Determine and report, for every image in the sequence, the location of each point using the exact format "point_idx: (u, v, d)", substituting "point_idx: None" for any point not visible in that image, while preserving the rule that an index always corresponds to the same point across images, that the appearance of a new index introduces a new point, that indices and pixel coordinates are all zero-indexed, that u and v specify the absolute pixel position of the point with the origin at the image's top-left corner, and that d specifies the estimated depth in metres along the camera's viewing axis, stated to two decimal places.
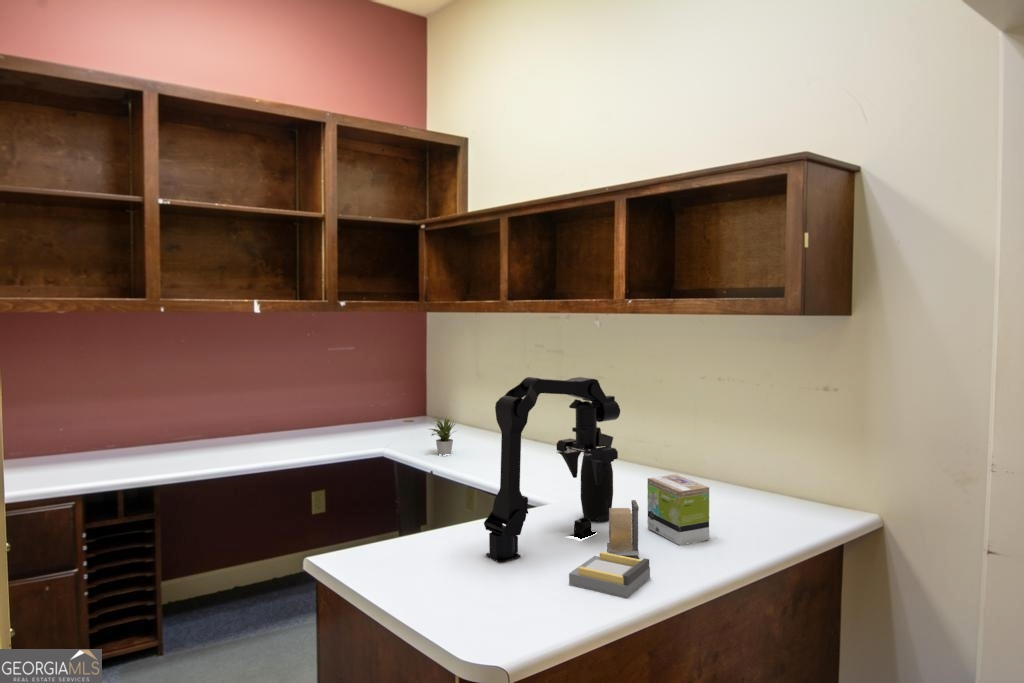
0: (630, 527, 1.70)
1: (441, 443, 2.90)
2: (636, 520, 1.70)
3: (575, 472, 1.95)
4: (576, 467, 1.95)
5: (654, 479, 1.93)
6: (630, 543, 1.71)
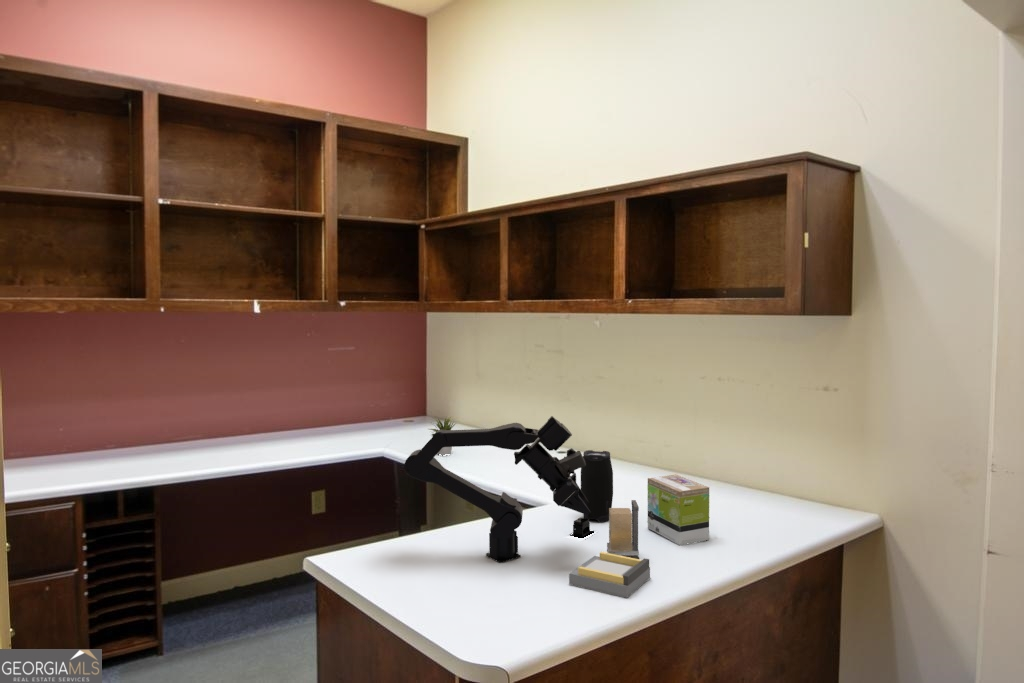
0: (630, 527, 1.70)
1: None
2: (636, 520, 1.70)
3: (582, 499, 1.78)
4: (580, 493, 1.78)
5: (654, 479, 1.93)
6: (630, 543, 1.71)
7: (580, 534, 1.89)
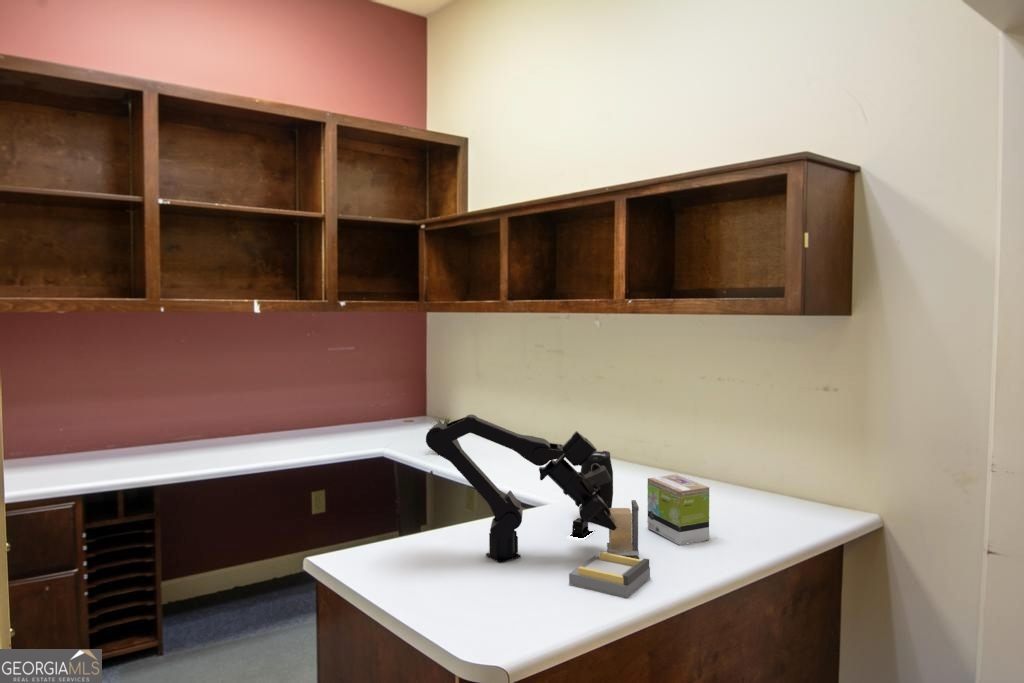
0: (630, 527, 1.70)
1: None
2: (636, 520, 1.70)
3: (607, 513, 1.77)
4: (605, 508, 1.78)
5: (654, 479, 1.93)
6: (630, 543, 1.71)
7: (580, 534, 1.89)
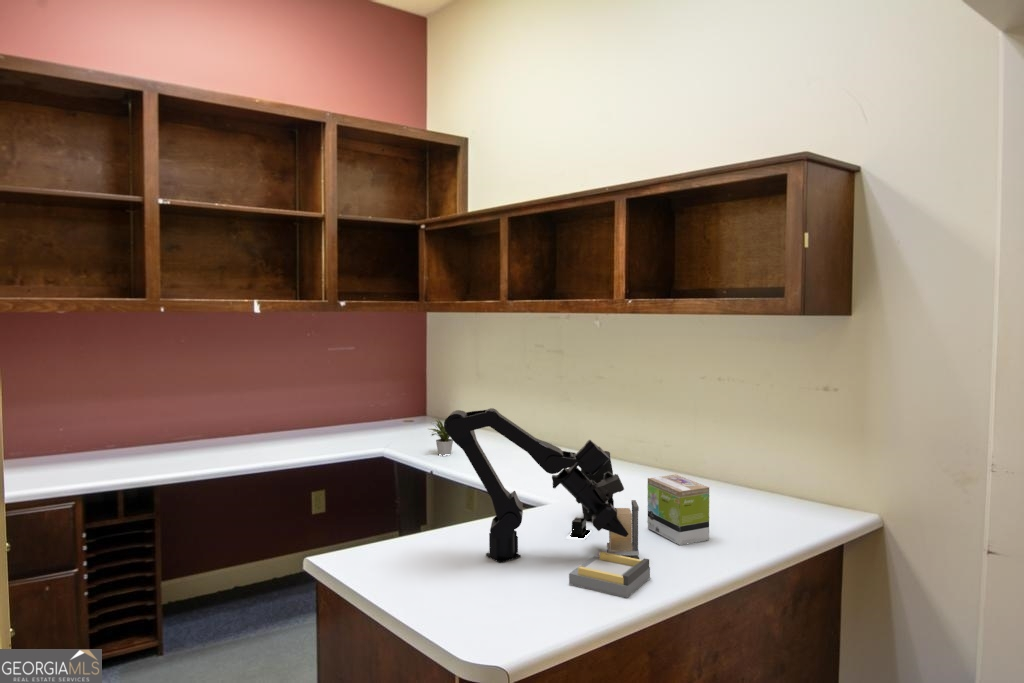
0: (630, 527, 1.70)
1: (441, 443, 2.90)
2: (636, 520, 1.70)
3: None
4: None
5: (654, 479, 1.93)
6: (630, 543, 1.71)
7: (579, 534, 1.89)
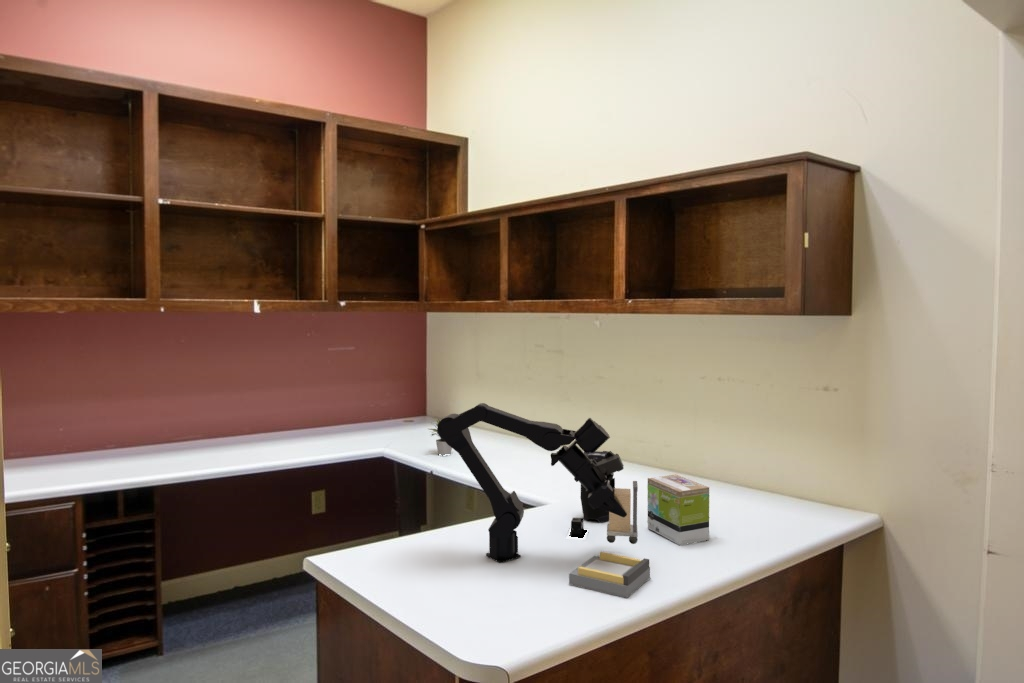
0: (629, 508, 1.67)
1: (441, 443, 2.90)
2: (635, 501, 1.66)
3: None
4: None
5: (654, 479, 1.93)
6: (629, 524, 1.67)
7: (579, 534, 1.90)
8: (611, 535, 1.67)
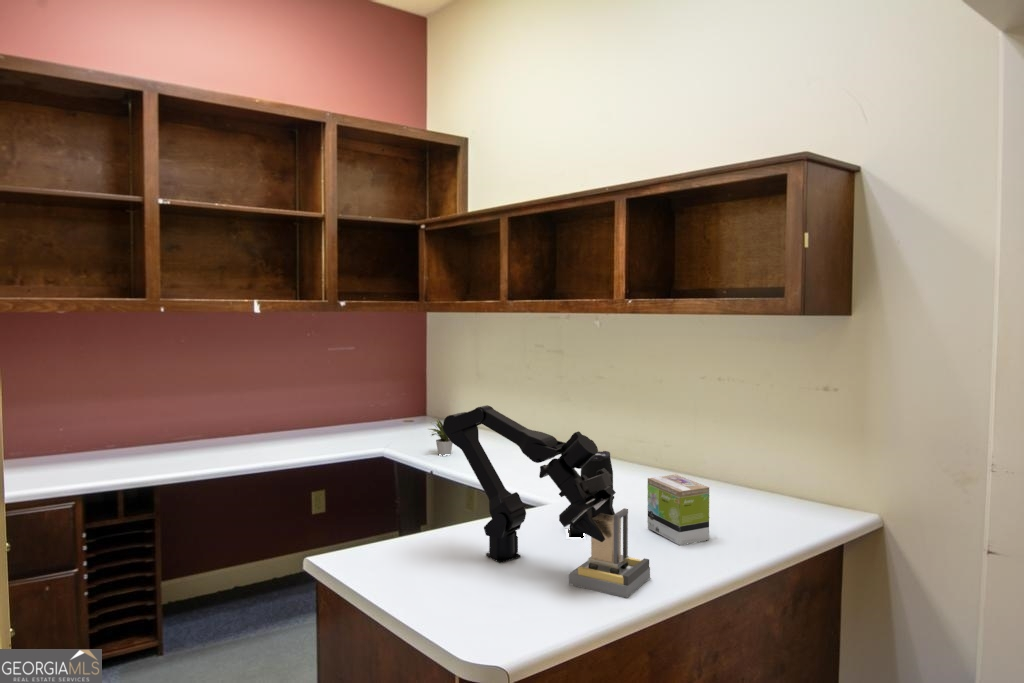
0: (610, 536, 1.56)
1: (441, 443, 2.90)
2: (615, 530, 1.55)
3: None
4: None
5: (654, 479, 1.93)
6: (610, 554, 1.56)
7: (578, 533, 1.90)
8: (592, 563, 1.58)
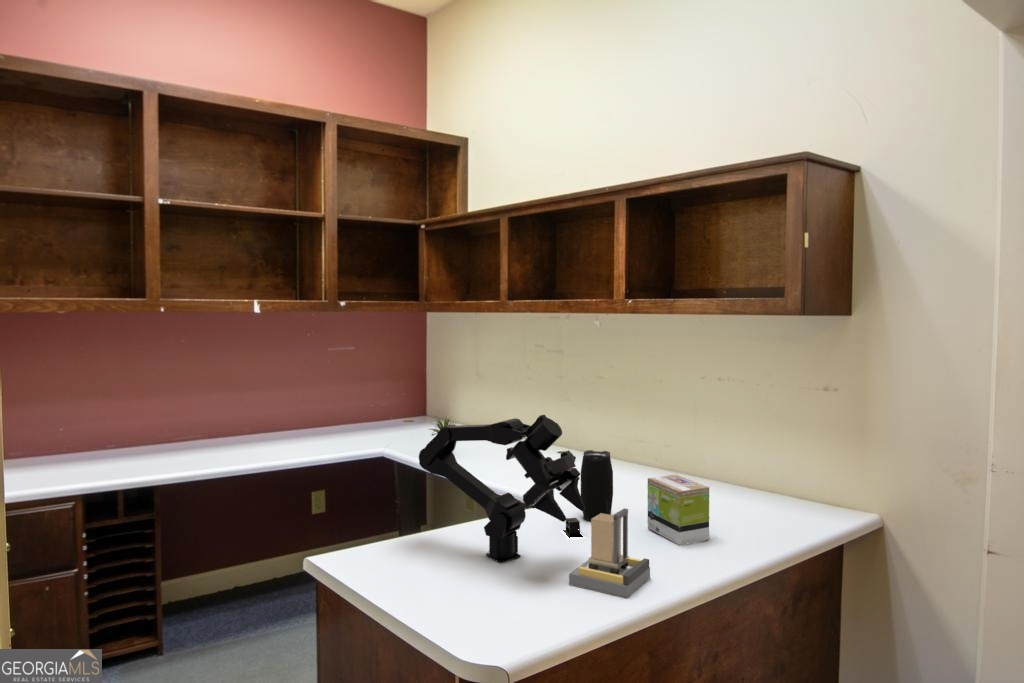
0: (610, 536, 1.56)
1: None
2: (615, 530, 1.55)
3: (579, 505, 1.68)
4: (577, 499, 1.68)
5: (654, 479, 1.93)
6: (610, 554, 1.56)
7: (577, 533, 1.90)
8: (592, 563, 1.58)
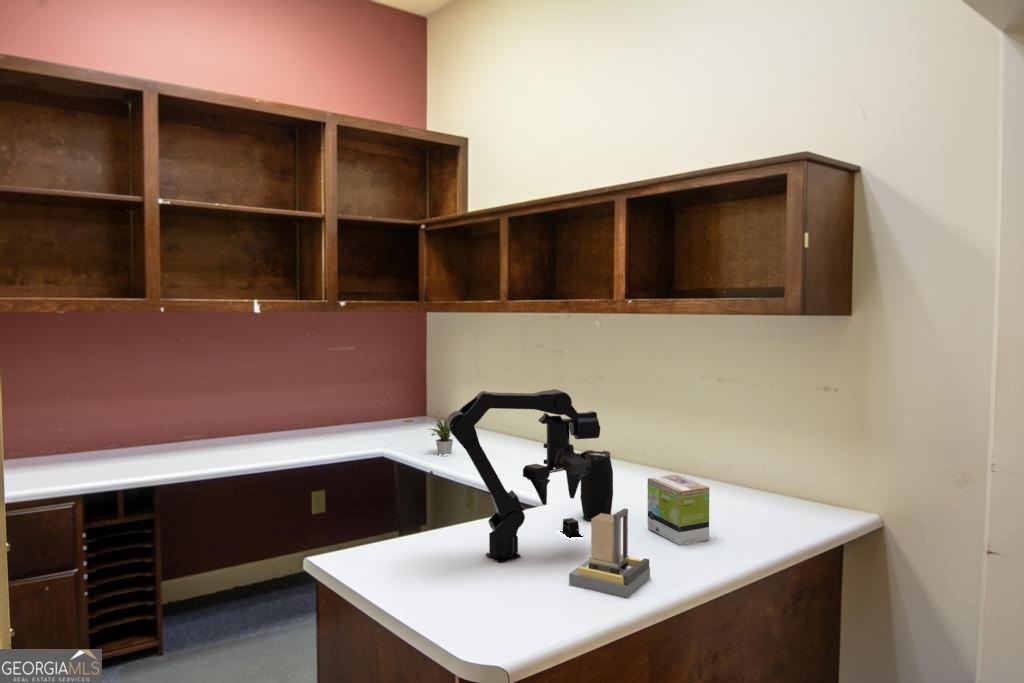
0: (610, 536, 1.56)
1: (441, 443, 2.90)
2: (615, 530, 1.55)
3: (571, 492, 1.80)
4: (573, 488, 1.79)
5: (654, 479, 1.93)
6: (610, 554, 1.56)
7: (576, 533, 1.90)
8: (592, 563, 1.58)
